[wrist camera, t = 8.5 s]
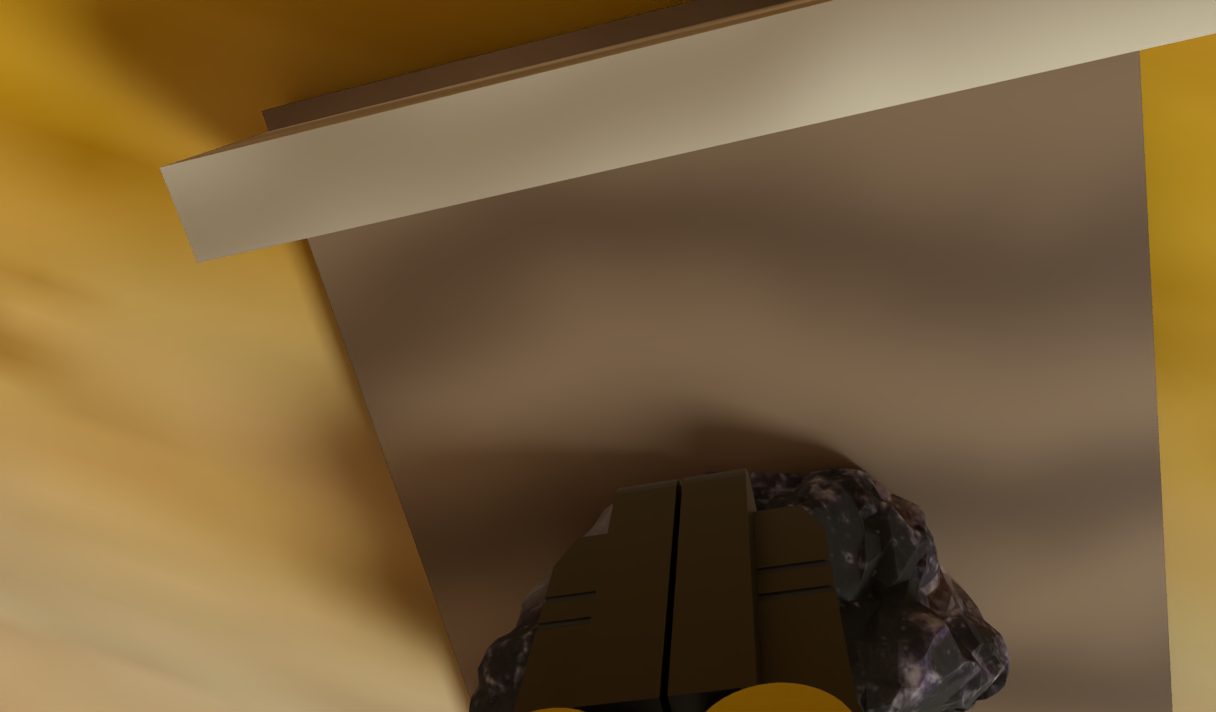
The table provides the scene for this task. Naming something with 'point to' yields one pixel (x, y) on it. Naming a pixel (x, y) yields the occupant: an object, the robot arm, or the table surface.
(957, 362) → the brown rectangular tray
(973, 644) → the black rock
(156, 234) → the table surface
